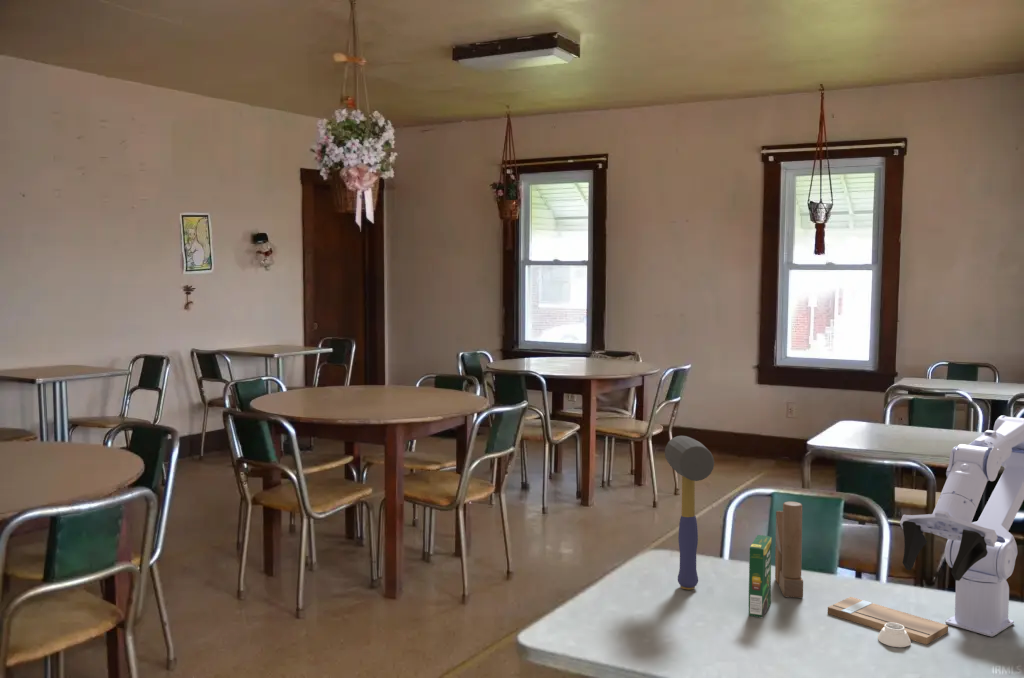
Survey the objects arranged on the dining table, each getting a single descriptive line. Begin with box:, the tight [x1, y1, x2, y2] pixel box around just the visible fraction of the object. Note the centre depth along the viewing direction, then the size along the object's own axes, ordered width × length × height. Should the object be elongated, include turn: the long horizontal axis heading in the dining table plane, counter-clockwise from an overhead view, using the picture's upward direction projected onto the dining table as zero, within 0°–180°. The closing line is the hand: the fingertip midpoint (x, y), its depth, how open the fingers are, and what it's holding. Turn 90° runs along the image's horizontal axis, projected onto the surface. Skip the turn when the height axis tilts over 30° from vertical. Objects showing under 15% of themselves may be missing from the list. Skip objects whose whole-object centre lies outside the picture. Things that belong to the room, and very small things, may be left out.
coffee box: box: [748, 534, 772, 619], centre depth 160 cm, size 8×3×13 cm, turn 153°
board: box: [827, 596, 949, 645], centre depth 154 cm, size 8×18×1 cm, turn 40°
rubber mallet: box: [664, 435, 715, 591], centre depth 171 cm, size 12×8×30 cm, turn 4°
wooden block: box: [774, 501, 804, 599], centre depth 171 cm, size 4×11×18 cm, turn 172°
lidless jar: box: [877, 623, 912, 648], centre depth 146 cm, size 5×3×5 cm
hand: (930, 571), depth 138 cm, fingers open, 7 cm apart
